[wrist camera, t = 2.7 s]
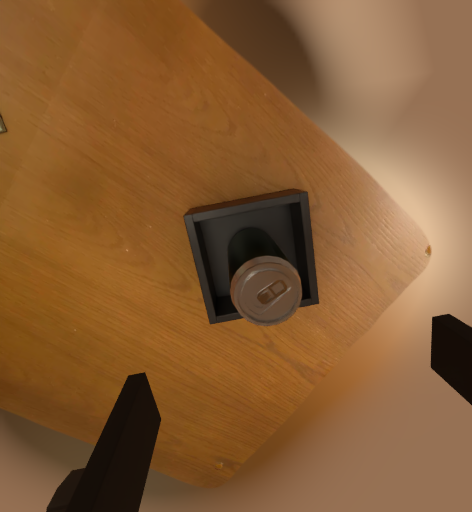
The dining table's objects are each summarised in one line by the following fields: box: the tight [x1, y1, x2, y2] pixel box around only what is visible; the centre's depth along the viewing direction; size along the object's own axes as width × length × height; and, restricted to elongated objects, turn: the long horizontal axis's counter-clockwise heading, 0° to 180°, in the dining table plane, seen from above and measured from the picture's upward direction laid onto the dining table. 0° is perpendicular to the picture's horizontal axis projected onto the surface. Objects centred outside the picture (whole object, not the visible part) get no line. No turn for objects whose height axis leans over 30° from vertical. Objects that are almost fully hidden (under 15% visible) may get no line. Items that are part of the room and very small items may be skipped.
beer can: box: [227, 228, 302, 326], centre depth 25 cm, size 5×5×12 cm
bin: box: [184, 189, 319, 324], centre depth 29 cm, size 12×12×5 cm
